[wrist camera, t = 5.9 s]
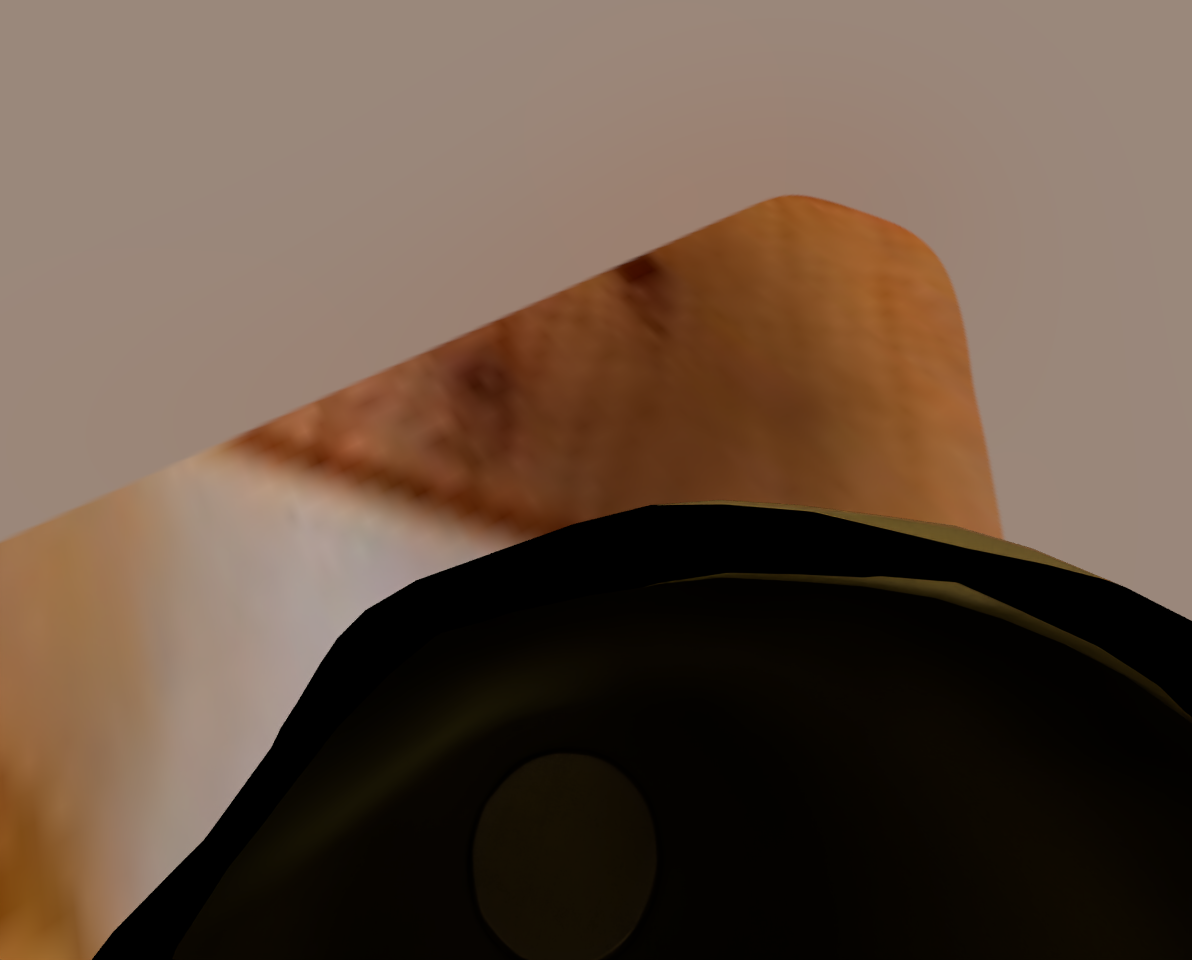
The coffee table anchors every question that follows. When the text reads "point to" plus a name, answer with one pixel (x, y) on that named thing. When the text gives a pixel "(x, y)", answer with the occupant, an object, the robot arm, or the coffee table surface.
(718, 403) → the coffee table surface
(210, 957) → the vase
